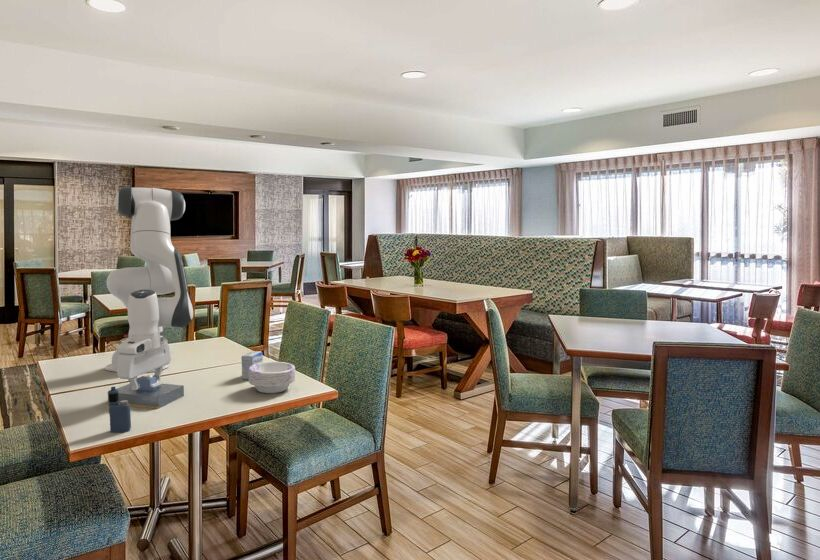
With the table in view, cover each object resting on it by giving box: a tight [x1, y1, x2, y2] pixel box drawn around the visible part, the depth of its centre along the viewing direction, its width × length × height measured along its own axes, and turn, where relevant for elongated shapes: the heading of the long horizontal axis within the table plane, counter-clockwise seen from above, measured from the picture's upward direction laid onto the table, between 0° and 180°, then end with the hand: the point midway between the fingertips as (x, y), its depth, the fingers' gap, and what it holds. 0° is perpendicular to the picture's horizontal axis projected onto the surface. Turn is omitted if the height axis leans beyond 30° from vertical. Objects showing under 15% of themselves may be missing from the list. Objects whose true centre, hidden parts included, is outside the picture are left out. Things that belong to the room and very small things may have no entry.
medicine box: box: [241, 350, 264, 381], centre depth 197 cm, size 8×4×9 cm, turn 168°
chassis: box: [106, 383, 185, 409], centre depth 170 cm, size 18×13×4 cm
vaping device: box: [107, 386, 132, 433], centre depth 145 cm, size 3×5×12 cm, turn 95°
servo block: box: [136, 374, 161, 392], centre depth 171 cm, size 7×3×8 cm, turn 77°
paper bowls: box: [248, 361, 296, 394], centre depth 183 cm, size 15×15×8 cm
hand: (146, 385), depth 170 cm, fingers open, 8 cm apart
